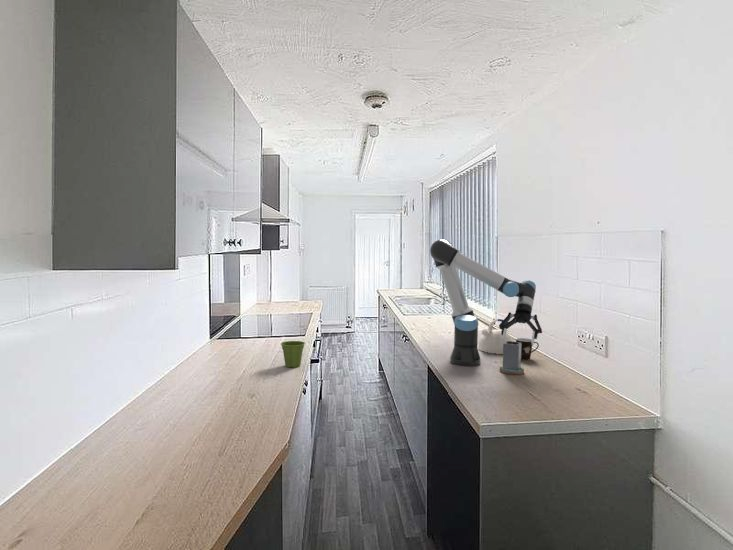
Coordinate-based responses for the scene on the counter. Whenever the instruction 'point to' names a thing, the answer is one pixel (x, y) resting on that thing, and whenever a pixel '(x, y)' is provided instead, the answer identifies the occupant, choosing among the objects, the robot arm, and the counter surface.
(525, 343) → the coffee mug
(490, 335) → the kettle
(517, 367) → the grey square holder
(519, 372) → the post stand
